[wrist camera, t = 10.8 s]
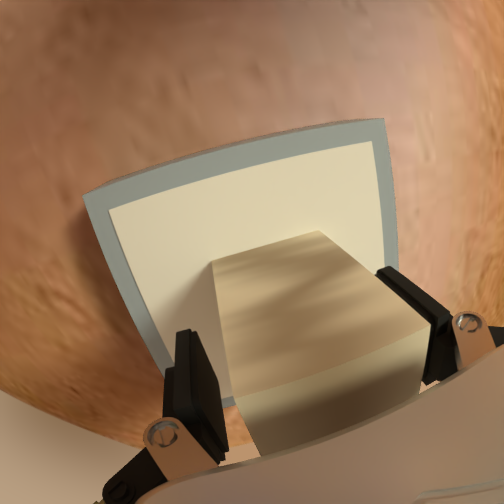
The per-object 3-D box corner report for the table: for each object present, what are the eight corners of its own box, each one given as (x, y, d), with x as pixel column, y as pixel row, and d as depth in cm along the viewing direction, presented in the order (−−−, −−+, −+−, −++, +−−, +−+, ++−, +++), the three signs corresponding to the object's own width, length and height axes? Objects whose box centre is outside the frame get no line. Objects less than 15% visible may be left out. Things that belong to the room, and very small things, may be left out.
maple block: (318, 229, 14) (430, 324, 7) (330, 317, 16) (409, 429, 8) (211, 260, 14) (233, 398, 6) (239, 346, 15) (274, 482, 8)
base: (346, 120, 16) (384, 118, 13) (369, 317, 22) (397, 348, 18) (106, 182, 15) (81, 195, 11) (186, 374, 21) (187, 417, 17)
